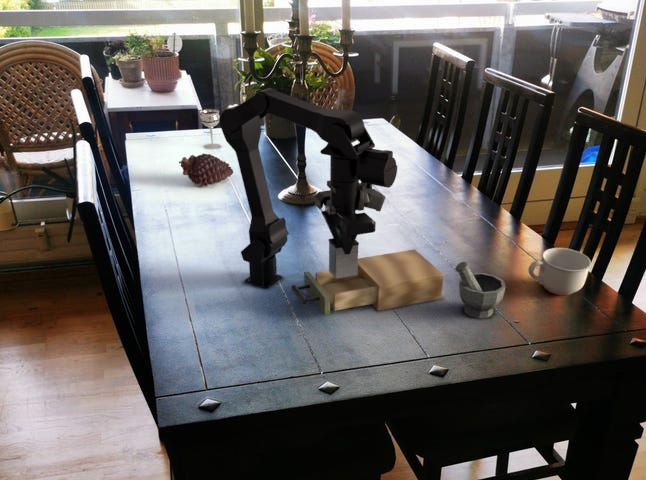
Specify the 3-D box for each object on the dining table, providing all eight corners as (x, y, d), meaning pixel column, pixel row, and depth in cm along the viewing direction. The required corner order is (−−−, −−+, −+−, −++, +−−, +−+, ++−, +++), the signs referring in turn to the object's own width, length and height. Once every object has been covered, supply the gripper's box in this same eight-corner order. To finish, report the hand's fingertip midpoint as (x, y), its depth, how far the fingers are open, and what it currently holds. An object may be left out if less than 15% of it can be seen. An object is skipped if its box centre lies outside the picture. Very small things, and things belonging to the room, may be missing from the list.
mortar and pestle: (491, 298, 164) (498, 249, 157) (508, 319, 156) (516, 268, 149) (443, 303, 162) (449, 253, 155) (458, 324, 154) (465, 273, 147)
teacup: (575, 278, 173) (582, 247, 168) (590, 300, 164) (598, 268, 159) (517, 278, 172) (522, 247, 168) (529, 300, 163) (535, 268, 159)
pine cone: (223, 172, 233) (235, 149, 225) (231, 196, 229) (243, 173, 221) (170, 166, 223) (181, 142, 215) (178, 191, 218) (189, 167, 211)
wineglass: (226, 145, 257) (223, 110, 250) (213, 150, 252) (210, 115, 245) (211, 142, 260) (208, 108, 253) (198, 147, 255) (195, 112, 248)
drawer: (306, 319, 153) (306, 301, 151) (287, 292, 163) (286, 274, 161) (386, 304, 159) (387, 286, 157) (363, 279, 169) (363, 262, 167)
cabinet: (378, 310, 158) (379, 285, 155) (352, 283, 169) (353, 259, 166) (441, 298, 163) (443, 274, 160) (412, 272, 174) (414, 249, 171)
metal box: (335, 279, 155) (335, 243, 150) (328, 271, 158) (328, 235, 154) (358, 275, 156) (359, 239, 152) (350, 267, 160) (351, 232, 155)
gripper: (401, 188, 141) (397, 261, 150) (362, 159, 156) (360, 228, 164) (348, 195, 138) (347, 270, 146) (313, 165, 152) (314, 235, 160)
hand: (343, 250), depth 154 cm, fingers closed on metal box, 4 cm apart
